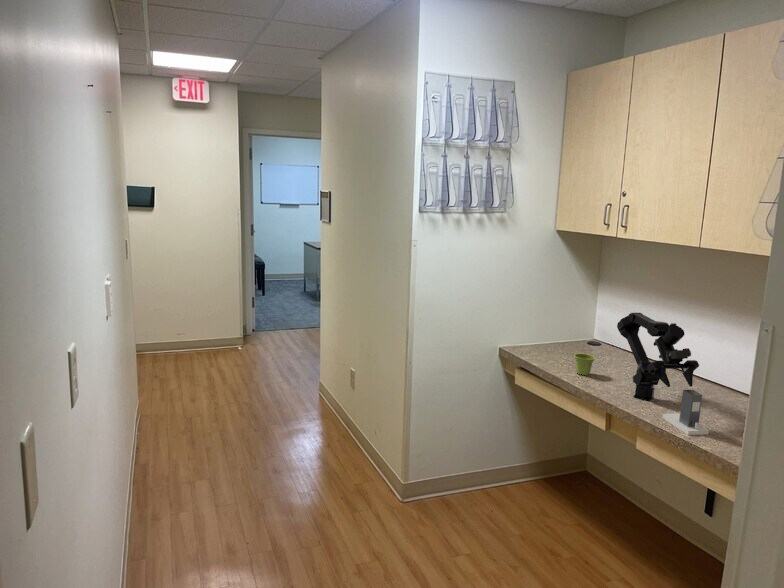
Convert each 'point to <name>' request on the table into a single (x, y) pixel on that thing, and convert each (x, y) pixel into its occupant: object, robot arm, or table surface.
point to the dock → (688, 430)
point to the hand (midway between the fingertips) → (680, 386)
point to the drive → (690, 407)
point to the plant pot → (583, 363)
